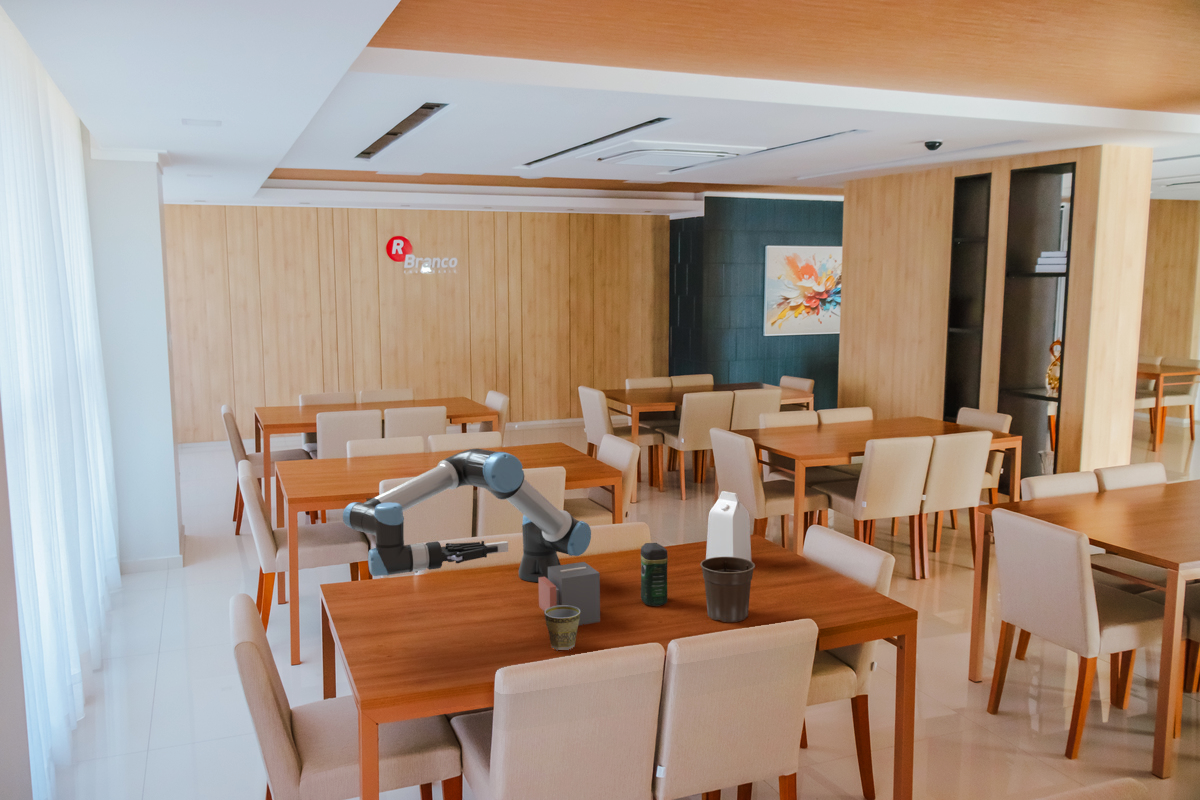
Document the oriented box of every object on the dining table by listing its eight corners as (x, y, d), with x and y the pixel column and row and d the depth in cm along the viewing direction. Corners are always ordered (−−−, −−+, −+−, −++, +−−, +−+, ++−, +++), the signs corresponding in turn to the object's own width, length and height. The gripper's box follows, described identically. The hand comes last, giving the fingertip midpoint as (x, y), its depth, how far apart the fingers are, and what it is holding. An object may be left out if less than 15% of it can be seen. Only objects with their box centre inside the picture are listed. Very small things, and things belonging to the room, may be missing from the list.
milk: (751, 562, 309) (752, 492, 306) (733, 569, 301) (733, 497, 298) (724, 555, 317) (724, 487, 314) (705, 562, 309) (706, 492, 306)
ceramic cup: (581, 652, 231) (581, 617, 230) (545, 654, 230) (544, 618, 229) (579, 634, 244) (578, 600, 242) (544, 635, 243) (543, 602, 242)
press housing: (562, 628, 248) (561, 577, 246) (548, 614, 259) (547, 565, 257) (600, 621, 253) (599, 572, 251) (584, 608, 264) (584, 560, 262)
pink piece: (550, 617, 247) (549, 587, 246) (538, 606, 256) (538, 577, 255) (594, 610, 253) (594, 580, 252) (581, 599, 262) (581, 571, 261)
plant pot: (690, 610, 261) (690, 559, 259) (736, 603, 267) (736, 553, 265) (717, 629, 246) (717, 575, 244) (764, 620, 252) (765, 568, 250)
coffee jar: (670, 605, 265) (670, 548, 263) (646, 608, 264) (645, 550, 262) (661, 595, 275) (661, 539, 273) (638, 597, 273) (637, 541, 271)
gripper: (421, 562, 242) (501, 552, 252) (431, 576, 230) (514, 565, 240) (420, 537, 241) (500, 528, 251) (430, 549, 230) (514, 539, 239)
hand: (507, 546), depth 245 cm, fingers closed
